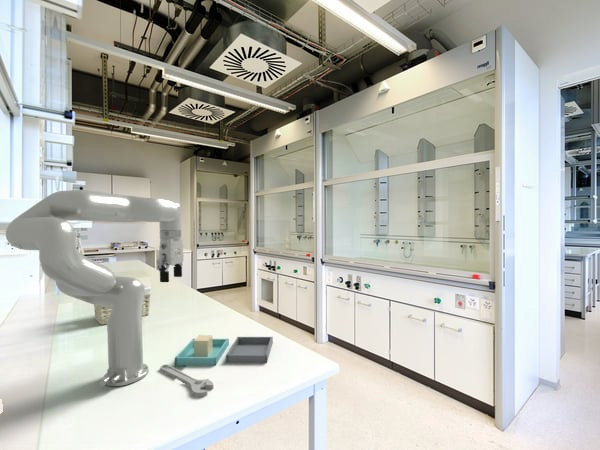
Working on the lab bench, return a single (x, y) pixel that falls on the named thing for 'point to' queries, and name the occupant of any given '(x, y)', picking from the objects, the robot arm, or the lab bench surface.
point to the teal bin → (188, 357)
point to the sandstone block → (203, 346)
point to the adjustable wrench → (189, 381)
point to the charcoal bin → (250, 350)
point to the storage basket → (104, 311)
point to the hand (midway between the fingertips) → (171, 279)
